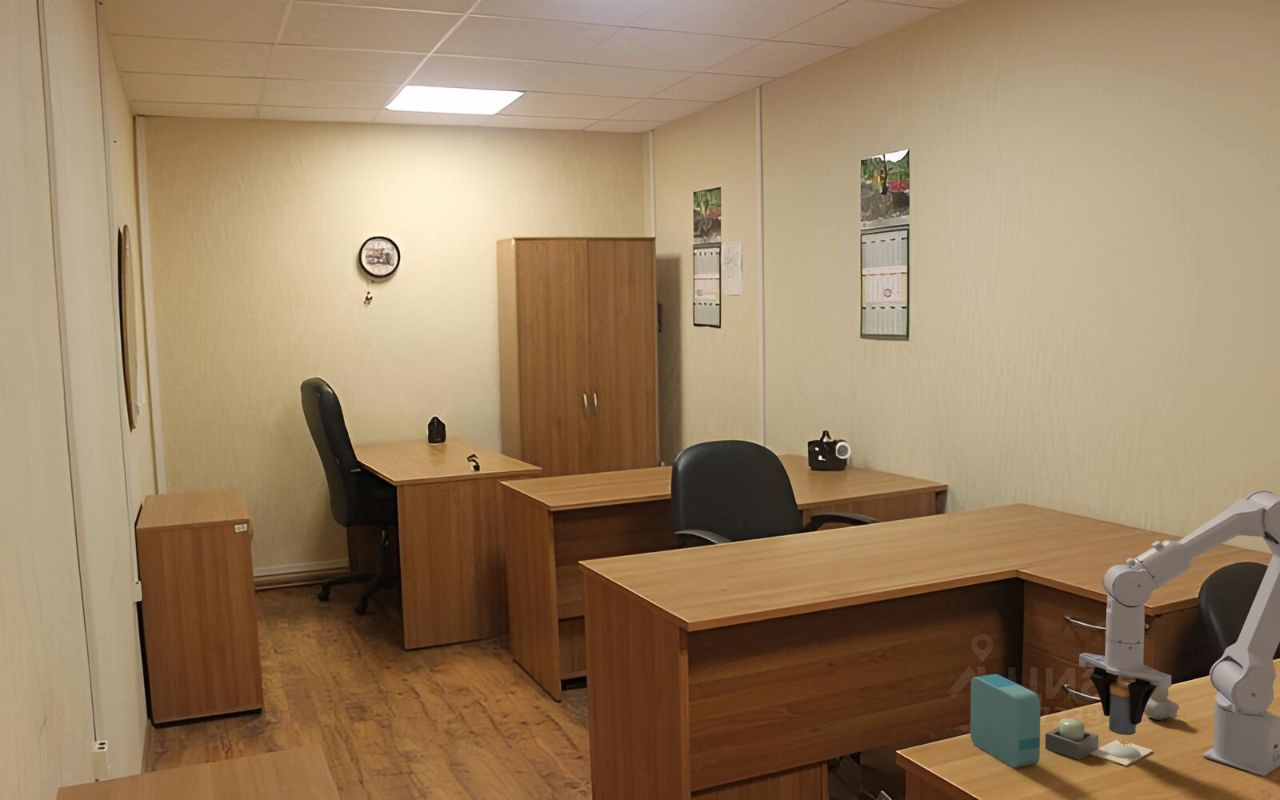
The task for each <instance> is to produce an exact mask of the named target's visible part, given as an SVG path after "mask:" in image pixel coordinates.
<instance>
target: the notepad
mask: <svg viewBox="0 0 1280 800" xmlns="http://www.w3.org/2000/svg"><path fill="white" fill-rule="evenodd" d="M1127 742H1128V741H1126V743H1127ZM1130 743H1131V745H1130ZM1151 752H1152V753H1154V750H1153V749H1150V748H1147V747H1144V746H1141V745H1137V744H1135V743H1132V742H1129V744H1128V745H1127V744H1125V745H1123V744H1121V743H1120V742H1119V741H1118V740H1117V739H1115V740H1113V741H1111V742H1109V743H1106V744H1105V745H1103V746H1101V747H1098V749H1097V750H1095V751H1093V752H1091V753H1090V755H1091V756H1093V755H1094V756H1093V757H1096V756H1097V758H1099V757H1100V758H1099V759H1102V758H1103V759H1102V760H1105V759H1107V760H1106V761H1108V760H1110V761H1109V762H1111V761H1113V762H1112V763H1114V762H1116V763H1119V764H1122V765H1125V766H1126V765H1128V766H1130V765H1131V764H1130V763H1132V762H1134V761H1135V762H1137V761H1139V760H1141V759H1143V758H1144V756H1145V757H1146V755H1147V754H1148V755H1150V754H1152V753H1151ZM1149 753H1150V754H1149ZM1090 755H1089V756H1090ZM1148 755H1147V756H1148ZM1142 757H1143V758H1142ZM1140 758H1141V759H1140ZM1138 759H1139V760H1138ZM1136 760H1137V761H1136ZM1135 762H1134V763H1135ZM1116 763H1115V764H1116ZM1119 764H1118V765H1119ZM1129 764H1130V765H1129ZM1132 764H1133V763H1132ZM1122 765H1121V766H1122ZM1125 766H1124V767H1125ZM1126 767H1127V766H1126Z"/></svg>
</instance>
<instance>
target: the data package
mask: <svg viewBox="0 0 1280 800" xmlns="http://www.w3.org/2000/svg"><path fill="white" fill-rule="evenodd" d="M1040 736H1041V699H1040V698H1039V695H1038V694H1037V693H1036V692H1034V691H1032V690H1030V689H1029V688H1026V687H1024V686H1022V685H1020V684H1019V683H1016V682H1014V681H1012V680H1010V679H1008V678H1006V677H1003V676H1002V675H999V674H997V673H994V674H987V675H980V676H976V677H973V678H972V680H971V682H970V739H971V741H972V743H973V745H975V746H976V747H977V748H978V749H980V750H982V751H984V752H986V753H987V754H988V755H990V756H992V757H994V758H995V759H996V760H999V761H1000V762H1002V763H1004V764H1005V765H1007V766H1008V767H1011V768H1012V769H1017V768H1020V767H1026V766H1027V767H1028V766H1033V765H1036V764H1038V763H1039V760H1040V758H1041V757H1040V756H1041V754H1040V749H1041V748H1040V747H1041V742H1040V741H1041V737H1040Z"/></svg>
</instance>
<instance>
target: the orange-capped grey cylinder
mask: <svg viewBox="0 0 1280 800" xmlns="http://www.w3.org/2000/svg"><path fill="white" fill-rule="evenodd" d="M1130 683H1131V682H1130ZM1130 683H1129V682H1125V681H1117V682H1112V683H1110V689H1109V691H1110V712H1109V716H1108V719H1109V720H1108V721H1109V722H1108V723H1109V724H1108V730H1109V731H1110V732H1113V733H1114V734H1118V735H1123V736H1132V735H1134V734H1136V731H1137V730H1136V727H1137V725H1133V724H1131V699H1130V693H1129V689H1128V684H1130Z"/></svg>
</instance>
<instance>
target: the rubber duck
mask: <svg viewBox="0 0 1280 800" xmlns="http://www.w3.org/2000/svg"><path fill="white" fill-rule="evenodd" d="M1168 697H1169V688H1167V689H1162V688H1159V686H1157V688H1156V689H1155V690H1154V692H1153V693H1152V695H1151V697H1150V699H1149V700H1148V703H1147V705H1146V707H1145V710H1144V713H1143V714H1145V715H1146V716H1147V717H1149V718H1151V719H1154V720H1157V721H1158V720H1159V721H1161V720H1166V719H1168V718H1174V719H1175V718H1178V710H1179V709H1180V705H1179V704H1178V703H1176V702H1174V701H1173V700H1171V699H1170V698H1168Z"/></svg>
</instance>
